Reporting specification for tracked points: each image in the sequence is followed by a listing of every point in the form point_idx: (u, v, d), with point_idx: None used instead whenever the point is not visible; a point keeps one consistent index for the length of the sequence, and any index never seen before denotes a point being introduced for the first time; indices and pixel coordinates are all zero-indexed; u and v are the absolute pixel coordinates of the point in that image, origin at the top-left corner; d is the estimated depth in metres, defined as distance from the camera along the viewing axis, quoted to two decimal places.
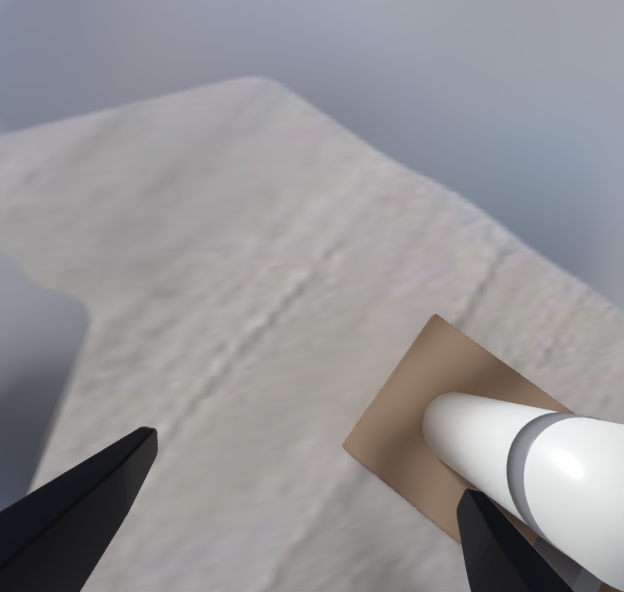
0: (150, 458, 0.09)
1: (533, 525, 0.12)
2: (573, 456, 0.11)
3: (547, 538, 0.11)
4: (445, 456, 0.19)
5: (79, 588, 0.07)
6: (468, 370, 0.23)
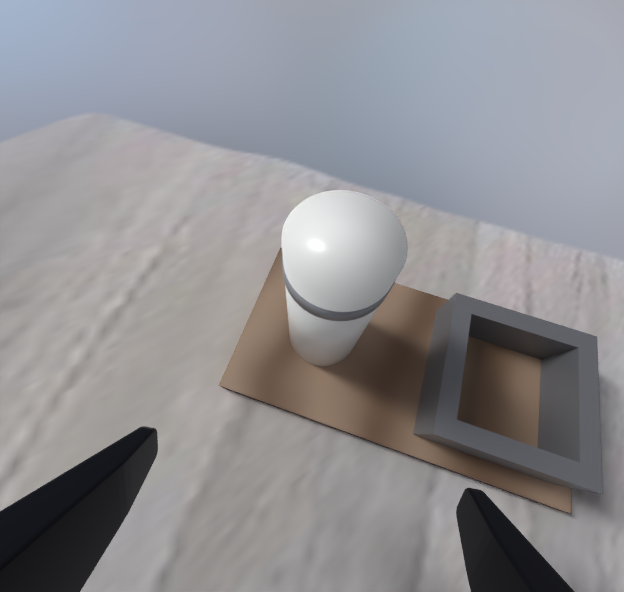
0: (150, 458, 0.09)
1: (303, 302, 0.13)
2: (294, 219, 0.13)
3: (311, 303, 0.13)
4: (297, 342, 0.20)
5: (79, 589, 0.07)
6: None
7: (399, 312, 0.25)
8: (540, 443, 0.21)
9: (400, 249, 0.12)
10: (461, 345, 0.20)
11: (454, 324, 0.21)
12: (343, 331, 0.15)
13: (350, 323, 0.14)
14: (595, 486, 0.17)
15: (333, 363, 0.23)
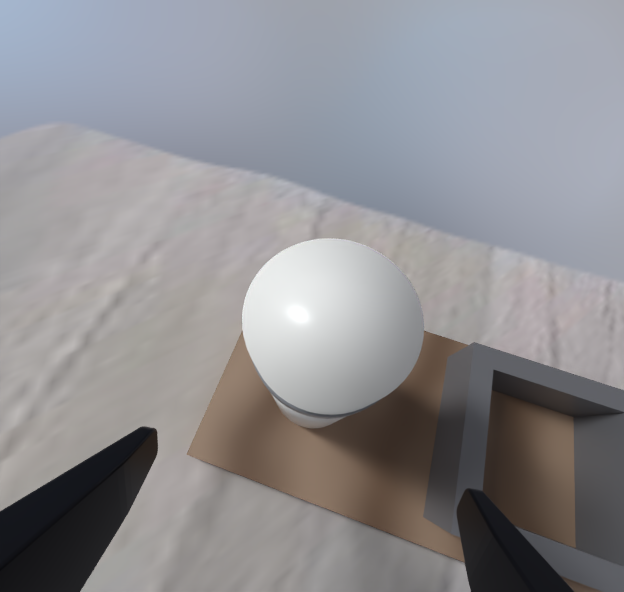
0: (150, 458, 0.09)
1: (276, 397, 0.09)
2: (261, 283, 0.09)
3: (287, 402, 0.09)
4: None
5: (79, 589, 0.07)
6: None
7: None
8: (579, 528, 0.17)
9: (413, 329, 0.09)
10: (482, 411, 0.17)
11: (473, 383, 0.17)
12: (334, 419, 0.12)
13: None
14: None
15: (325, 426, 0.19)
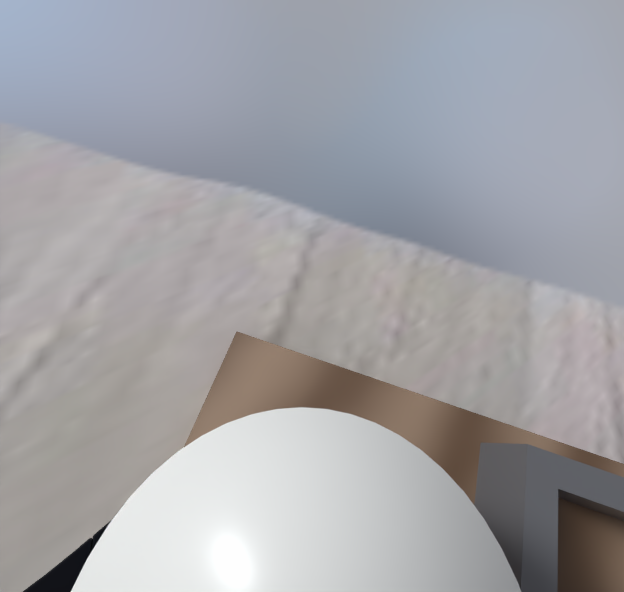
0: None
1: None
2: (113, 562, 0.03)
3: None
4: None
5: None
6: (295, 394, 0.16)
7: (422, 446, 0.16)
8: None
9: None
10: (547, 562, 0.11)
11: (530, 514, 0.12)
12: None
13: None
14: None
15: None
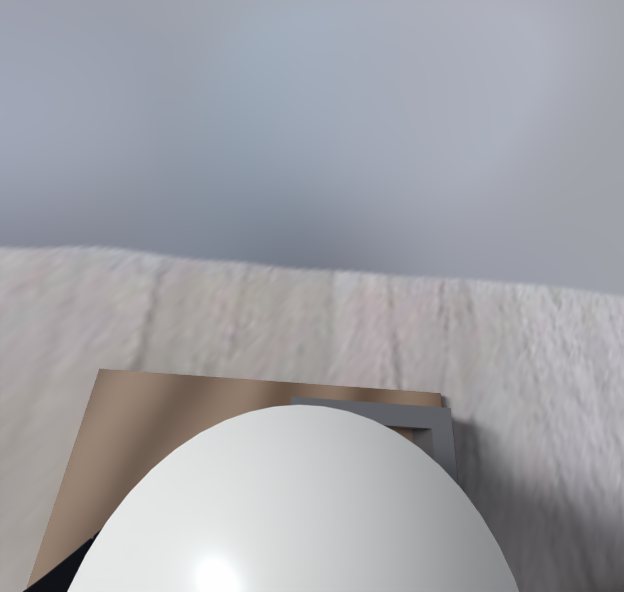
0: None
1: None
2: (112, 559, 0.03)
3: None
4: None
5: None
6: (151, 404, 0.21)
7: None
8: None
9: None
10: None
11: None
12: None
13: None
14: None
15: None
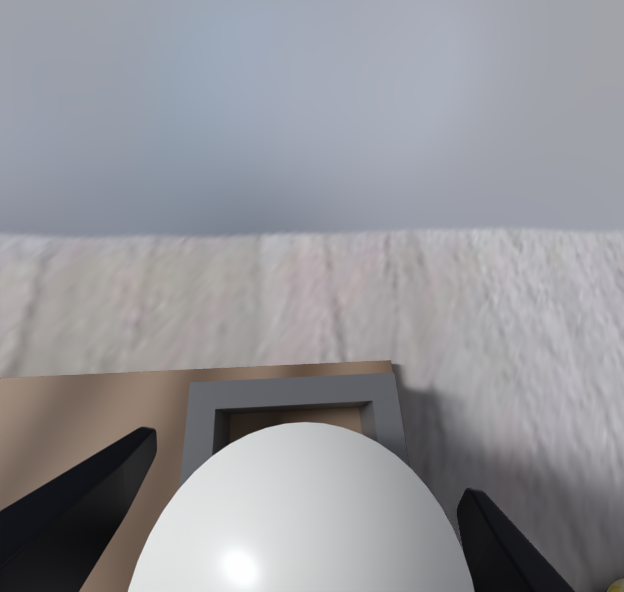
0: (149, 458, 0.09)
1: None
2: (169, 537, 0.05)
3: None
4: None
5: (79, 589, 0.07)
6: (25, 417, 0.17)
7: (155, 416, 0.17)
8: None
9: None
10: None
11: (189, 439, 0.13)
12: None
13: None
14: None
15: None
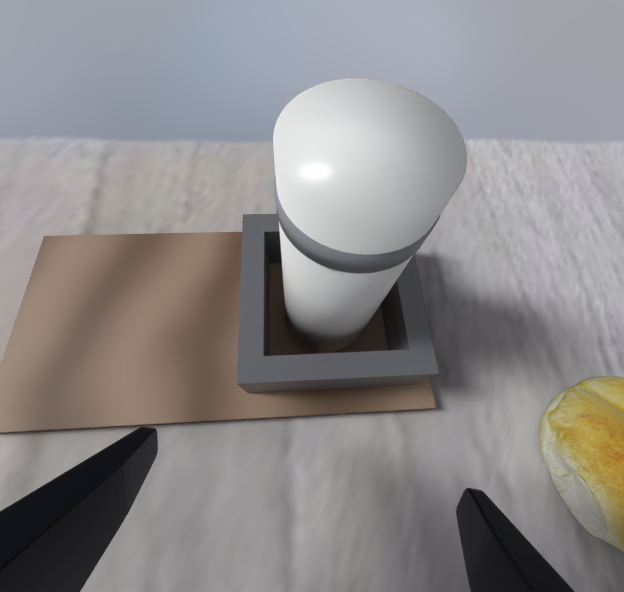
0: (150, 458, 0.09)
1: (306, 243, 0.09)
2: (292, 113, 0.08)
3: (319, 242, 0.09)
4: (296, 320, 0.16)
5: (80, 589, 0.07)
6: (103, 261, 0.20)
7: (208, 263, 0.21)
8: (388, 347, 0.19)
9: (456, 155, 0.08)
10: (257, 270, 0.17)
11: (245, 249, 0.17)
12: (361, 294, 0.11)
13: (373, 278, 0.10)
14: (430, 368, 0.15)
15: (340, 347, 0.18)
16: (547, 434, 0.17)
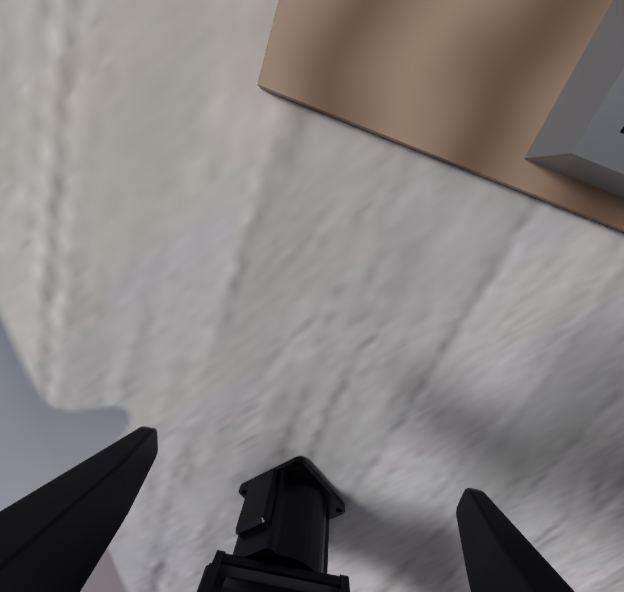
0: (150, 458, 0.09)
1: None
2: None
3: None
4: None
5: (79, 588, 0.07)
6: None
7: None
8: None
9: None
10: None
11: None
12: None
13: None
14: None
15: None
16: None
